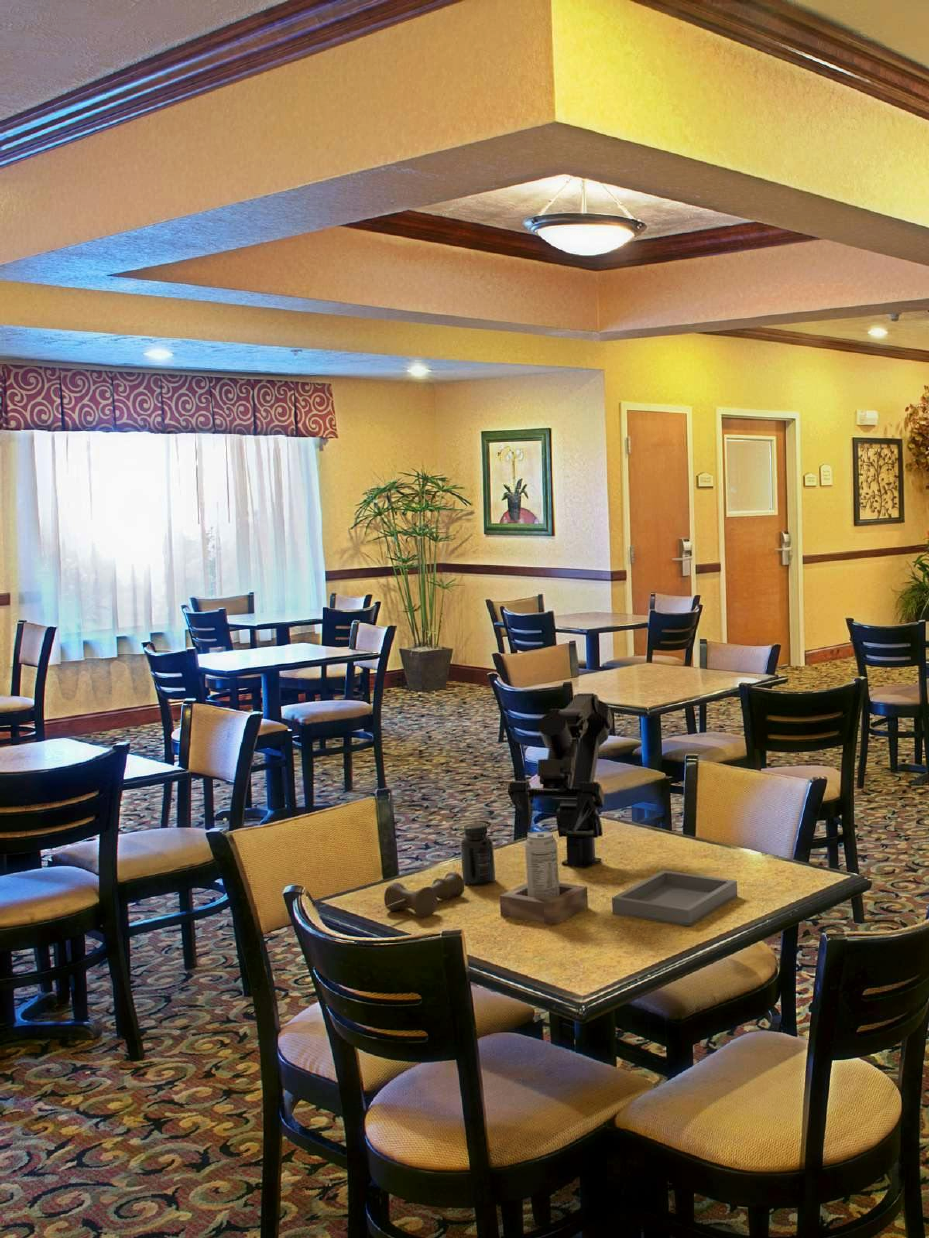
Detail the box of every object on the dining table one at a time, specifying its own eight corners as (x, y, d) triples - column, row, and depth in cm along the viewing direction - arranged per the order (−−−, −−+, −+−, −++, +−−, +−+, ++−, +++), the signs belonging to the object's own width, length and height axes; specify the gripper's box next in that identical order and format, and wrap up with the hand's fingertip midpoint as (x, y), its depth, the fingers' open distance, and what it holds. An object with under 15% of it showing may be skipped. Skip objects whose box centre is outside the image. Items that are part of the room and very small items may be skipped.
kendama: (475, 901, 248) (405, 926, 233) (440, 895, 254) (370, 919, 239) (473, 871, 248) (403, 895, 233) (438, 866, 254) (368, 888, 239)
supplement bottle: (496, 876, 262) (493, 820, 261) (494, 886, 255) (491, 828, 254) (464, 877, 263) (461, 821, 262) (461, 887, 256) (457, 829, 255)
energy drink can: (558, 905, 240) (554, 829, 239) (562, 915, 234) (558, 837, 233) (527, 907, 240) (523, 831, 239) (530, 917, 234) (526, 839, 233)
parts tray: (663, 884, 249) (662, 870, 249) (737, 896, 240) (736, 880, 239) (612, 913, 234) (611, 897, 233) (689, 926, 224) (688, 910, 224)
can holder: (536, 898, 245) (535, 878, 245) (588, 907, 238) (587, 886, 238) (500, 915, 236) (499, 895, 235) (553, 925, 229) (552, 904, 228)
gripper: (507, 741, 250) (494, 808, 241) (598, 741, 244) (589, 810, 235) (519, 771, 258) (508, 837, 249) (608, 772, 252) (599, 840, 243)
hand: (550, 831), depth 244 cm, fingers open, 9 cm apart
